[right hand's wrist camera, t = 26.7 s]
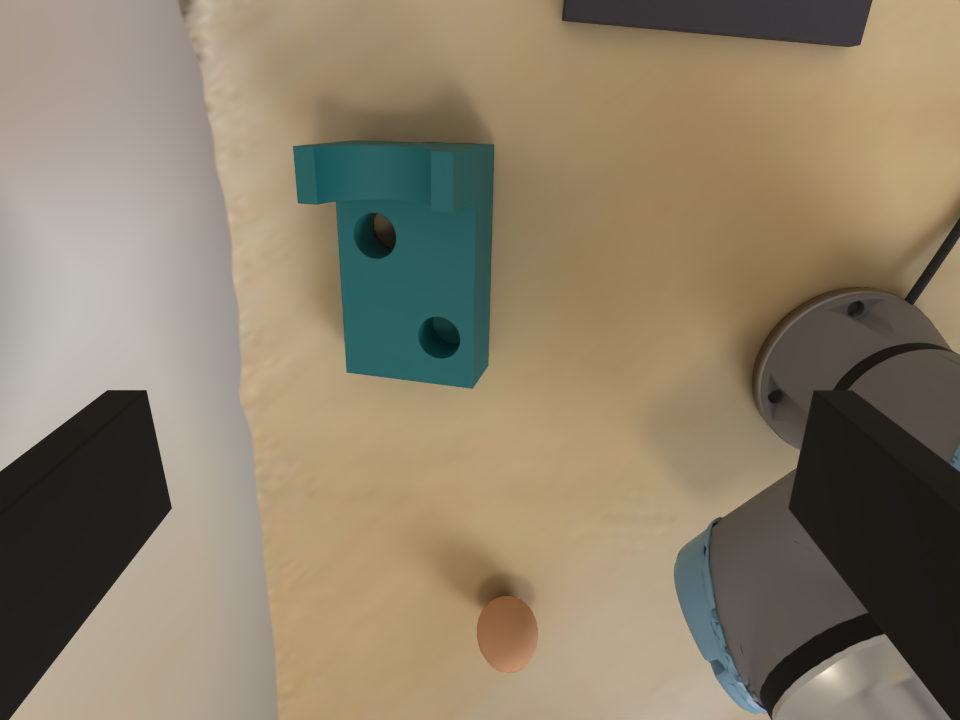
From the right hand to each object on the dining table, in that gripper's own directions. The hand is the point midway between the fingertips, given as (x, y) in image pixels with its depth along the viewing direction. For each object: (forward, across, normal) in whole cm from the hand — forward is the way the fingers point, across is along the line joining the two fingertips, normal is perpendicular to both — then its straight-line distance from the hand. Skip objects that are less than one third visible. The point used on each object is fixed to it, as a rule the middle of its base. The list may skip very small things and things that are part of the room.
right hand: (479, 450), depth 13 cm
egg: (+41, +3, -42) cm, 58 cm away
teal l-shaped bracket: (+41, -6, -5) cm, 41 cm away
